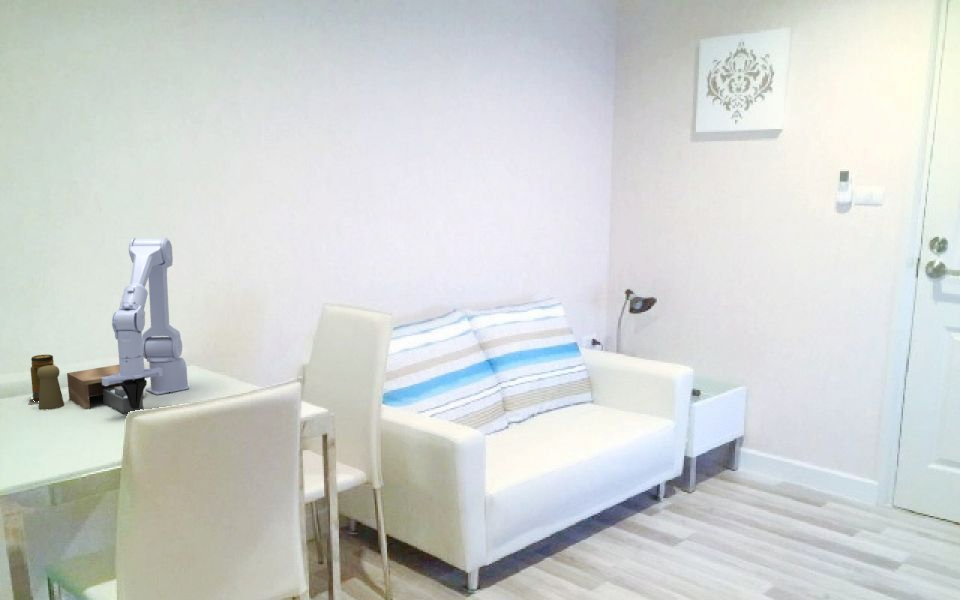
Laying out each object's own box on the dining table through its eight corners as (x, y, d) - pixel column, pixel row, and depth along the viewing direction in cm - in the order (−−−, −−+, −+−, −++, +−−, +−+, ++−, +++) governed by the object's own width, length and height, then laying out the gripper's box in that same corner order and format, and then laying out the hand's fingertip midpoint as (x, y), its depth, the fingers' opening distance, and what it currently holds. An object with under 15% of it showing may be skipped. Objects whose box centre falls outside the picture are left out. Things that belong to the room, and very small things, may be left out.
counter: (125, 389, 224) (123, 363, 223) (143, 397, 215) (141, 371, 214) (69, 399, 214) (66, 373, 213) (85, 409, 205) (83, 381, 204)
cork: (53, 410, 204) (49, 369, 203) (33, 409, 205) (29, 368, 204) (69, 403, 210) (65, 364, 208) (50, 402, 211) (46, 363, 210)
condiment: (60, 394, 220) (56, 352, 218) (59, 401, 213) (55, 358, 211) (31, 397, 217) (26, 355, 215) (28, 405, 209) (24, 361, 208)
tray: (122, 399, 213) (121, 381, 213) (143, 410, 204) (142, 391, 203) (103, 403, 210) (102, 384, 209) (123, 414, 200) (122, 394, 199)
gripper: (107, 363, 190) (111, 417, 193) (166, 354, 201) (169, 405, 203) (96, 358, 195) (101, 411, 197) (154, 349, 206) (158, 399, 208)
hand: (135, 407), depth 200 cm, fingers closed, pressing on tray
